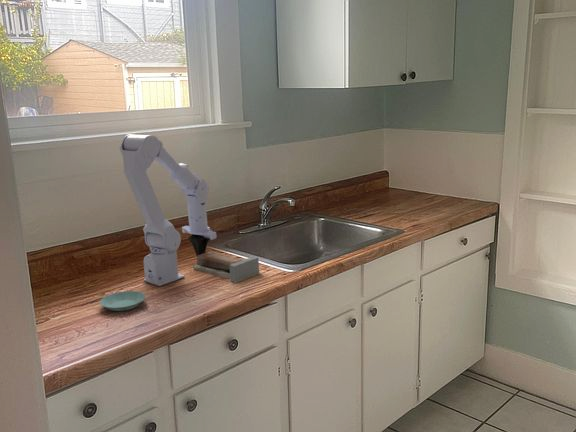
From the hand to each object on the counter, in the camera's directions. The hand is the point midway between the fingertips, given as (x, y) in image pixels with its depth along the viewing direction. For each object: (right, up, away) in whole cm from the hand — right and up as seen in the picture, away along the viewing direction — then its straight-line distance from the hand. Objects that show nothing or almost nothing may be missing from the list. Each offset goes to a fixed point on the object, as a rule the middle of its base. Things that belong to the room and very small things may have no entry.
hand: (200, 257), depth 187 cm
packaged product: (+8, -4, -5) cm, 10 cm away
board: (+15, -5, -13) cm, 20 cm away
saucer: (-16, -11, -31) cm, 36 cm away
